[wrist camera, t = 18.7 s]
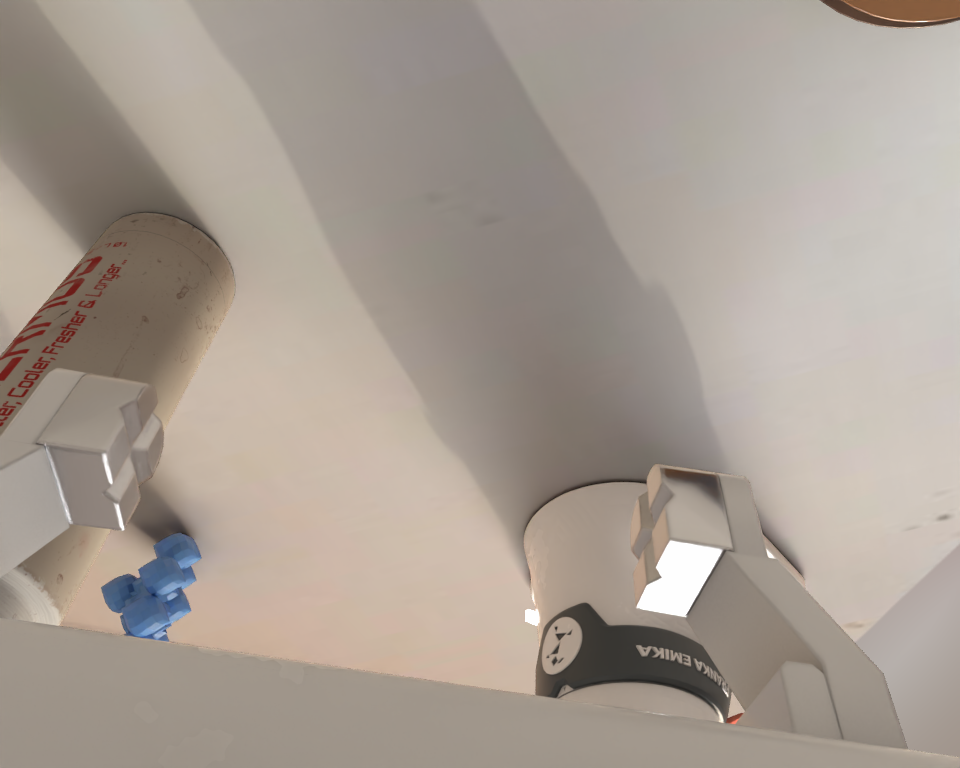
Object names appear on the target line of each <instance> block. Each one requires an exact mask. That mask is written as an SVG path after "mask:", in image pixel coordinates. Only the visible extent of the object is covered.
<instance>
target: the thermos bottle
mask: <svg viewBox="0 0 960 768" xmlns="http://www.w3.org/2000/svg"><path fill="white" fill-rule="evenodd" d="M234 295H235V281H234V275H233V272H232V269H231V266H230V264H229V262H228V260H227V258H226V257H225V255H224V254H223V252H222V251H221V249H220V248H219V247H218V246H217V245H216V244H215V243H214V242H213V240H211V239H210V238H209V237H208V236H207V235H205V234H204V233H203V232H202V231H200V230H199V229H197V228H195V227H194V226H192V225H191V224H189V223H187V222H184V221H182V220H180V219H177V218H175V217H171V216H167V215H164V214H157V213H137V214H132V215H129V216H125V217H122V218H121V219H119V220H117V221H115V222H114V223H112V225H111V226H110V227H109V228H108V229H107V230H106V231H105V232H104V233H103V234H102V235H101V237H100V238H99V239H98V240H97V241H96V243H95V244H94V245H93V246H92V247H91V249H90V250H89V251H88V252H87V253H86V255H85V256H84V257H83V258H82V259H81V261H80V262H79V263H78V264H77V265H76V266H75V268H74V269H73V270H72V271H71V272H70V274H69V275H68V276H67V277H66V278H65V280H64V281H63V282H62V283H61V284H60V286H59V287H58V288H57V289H56V290H55V292H54V293H53V294H52V295H51V296H50V297H49V299H48V300H47V301H46V302H45V303H44V305H43V306H42V307H41V308H40V309H39V311H38V312H37V313H36V314H35V315H34V317H33V318H32V319H31V320H30V321H29V323H28V324H27V325H26V326H25V327H24V328H23V330H22V331H21V332H20V333H19V334H18V336H17V337H16V338H15V339H14V340H13V342H12V343H11V344H10V345H9V346H8V348H7V349H6V350H5V351H4V352H3V354H2V355H1V356H0V436H1V434H2V433H3V432H4V431H5V429H6V428H7V427H8V425H9V424H10V423H11V421H12V420H13V419H14V417H15V416H16V415H17V413H18V412H19V411H20V409H21V408H22V407H23V405H24V404H25V403H26V401H27V400H28V399H29V397H30V396H31V395H32V393H33V392H34V391H35V389H36V388H37V387H38V385H39V384H40V383H41V381H42V380H43V379H44V378H45V376H46V375H47V374H48V373H49V372H50V371H52V370H54V369H56V368H63V369H68V370H73V371H79V372H84V373H93V374H99V375H104V376H110V377H115V378H120V379H126V380H131V381H137V382H142V383H148V384H151V385H153V386H155V387H156V392H157V396H158V401H159V402H158V404H157V406H156V408H155V410H154V411H153V413H154V414H155V415H156V416H157V417H158V418H159V419H160V420H161V421H162V424H163V430H165V428H166V426H167V424H168V422H169V420H170V418H171V416H172V414H173V412H174V411H175V409H176V407H177V405H178V403H179V401H180V399H181V397H182V395H183V393H184V392H185V390H186V388H187V386H188V384H189V382H190V381H191V379H192V377H193V375H194V373H195V372H196V370H197V368H198V366H199V364H200V362H201V360H202V359H203V357H204V355H205V353H206V351H207V349H208V347H209V346H210V344H211V342H212V340H213V338H214V336H215V334H216V332H217V331H218V329H219V327H220V325H221V323H222V321H223V319H224V317H225V316H226V314H227V312H228V310H229V308H230V306H231V304H232V301H233V298H234ZM69 525H70V527H69V528H68V529H66V530H65V531H64V532H62V533H61V534H60V535H58V536H57V537H56V538H54V539H53V540H51V541H50V542H49V543H47V544H46V545H45V546H43V547H42V548H41V549H39V550H38V551H36V552H35V553H34V554H32V555H31V556H30V557H28V558H27V559H26V560H24V561H23V562H21V563H20V564H19V565H17V566H16V567H15V568H13V569H12V570H11V571H9V572H8V573H6V574H5V575H4V576H2V577H1V578H0V617H2V618H9V619H16V620H23V621H29V622H36V623H43V624H50V625H57V626H60V624H61V622H62V620H63V618H64V617H65V615H66V613H67V611H68V609H69V607H70V605H71V604H72V602H73V600H74V598H75V596H76V594H77V592H78V590H79V589H80V587H81V585H82V583H83V581H84V579H85V577H86V575H87V574H88V572H89V570H90V568H91V566H92V564H93V562H94V561H95V559H96V557H97V555H98V553H99V551H100V549H101V547H102V546H103V544H104V542H105V540H106V538H107V536H108V534H109V532H110V531H111V529H105V528H97V527H89V526H81V525H73V524H69Z"/></svg>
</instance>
